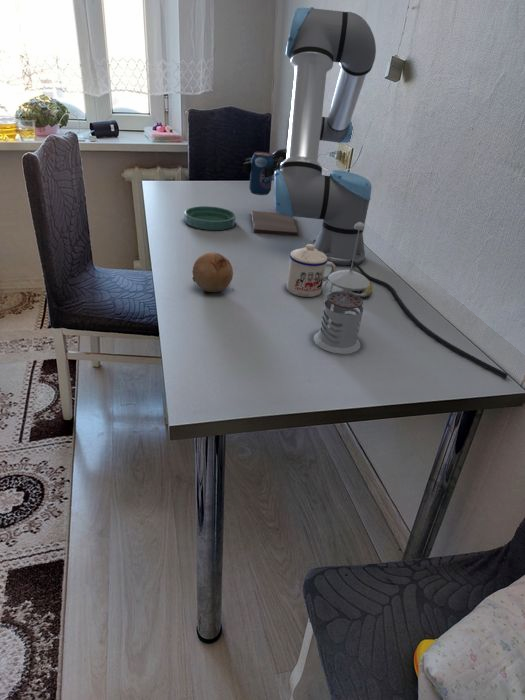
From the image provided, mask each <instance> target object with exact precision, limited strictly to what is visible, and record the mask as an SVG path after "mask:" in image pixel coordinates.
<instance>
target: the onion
mask: <svg viewBox="0 0 525 700" xmlns="http://www.w3.org/2000/svg"><path fill="white" fill-rule="evenodd" d="M191 273H192V280H193V283H196V285H197V286H198V287H199V288H200V289H201V290H202V291H203V292H208V293H219V292H222V291H224V290H225V289H227V288H228V287H229V285H231V282H232V280H233V277H234V270H233V267H232V263H231V262H230V259H228V258H227V257H225V256H224V255H222V254H221V253H218V252H205V253H203V254H201V255H199V257H198V258H197V259H196V260H195V262H194V264H193V266H192V270H191Z"/></svg>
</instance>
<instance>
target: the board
mask: <svg viewBox="0 0 525 700" xmlns="http://www.w3.org/2000/svg"><path fill="white" fill-rule="evenodd" d="M250 212H251V213H250V215H251V223H252V229H253V233H254V234H265V235H277V236H278V235H279V236H293V237H298V234H299V231H298V229H297V226H296V223H295V221H294V217H290V216H285V215H280V214H278V213H277V212H271V211H257V210H251V211H250Z"/></svg>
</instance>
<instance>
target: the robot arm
mask: <svg viewBox="0 0 525 700" xmlns="http://www.w3.org/2000/svg"><path fill="white" fill-rule="evenodd" d="M290 23H291V24H290V27H289V28H290V29H289V32H288V39H287V44H286V47H285V48H286V49H285V56H286V58H289V59H290V61H289V64H290V66H291V68H293V70H294V76H293V87H292V97H291V109H290V115H289V122H288V132H287V140H286V147H283V148H280V149H277V150H275V151H274V152H273V153H272V157H273V160H274V163H273V166H270V167H267V168H265V177H266V178H267V177H270V176H272V177H273V200H274V202H273V203H274V210H275V213H278V214H280V215H285V216H290V217H292V218H294V217H296V218H306V219H313V220H314V219H315V220H322V226H321V229H320V231H319V233H318V235H317V237H316V239H313V241H312V244H313V245H314V246H315V249H317V250H318V251H320V252H322V253H324V254H325V255H326V256H327V259H328V262H332V263H333V264H334V265H335V266H343V267H344V266H346V267H351V265H352V259H353V254H354V249H355V244H356V239H357V234H358V230H356V229H354V225H355V224H356V223H358V222H361V223H363V224H364V226H365V224H366V219H367V216H368V215H367V214H368V209H369V204H370V201H371V195H372V187H373V186H372V183H371V181H370V180H369V179H367V178H366V177H364V176H362V175H360V174H357V173H354V172H350V171H347V170H341V169H333V170H331V172H330V173H329V175H324V174H323V166H322V165H321V164H320V163H319V161H318V158H319V150H320V141H322V142H329V143H330V142H331V143H337V144H341V143H342V144H349V143H350V142H351V141H350V139H351V135H352V130H353V126H352V122H351V120H352V117H353V114H354V111H355V109H356V106H357V102H358V99H359V97H360V95H361V91H362V88H363V85H364V81H365V79H366V76H367V75H368V74H369V73H370V72H371V71H372V69H373V66H374V63H375V60H376V55H377V53H376V52H377V45H376V40H375V39H376V38H375V36H374V33H373V31H372V29H371V27H370V24H368V22H367V20H366V19H365V18H363V16H361V15H359V14H358V13H356V12H352V11H343V10H342V11H341V10H333V9H323V8H314V7H313V6H311V7H303V6H302V7H298V8H297V9H295V10H294V13H293V15H292V20H291V22H290ZM334 63H339V66H340V71H339V74H338V78H337V82H336V85H335V90H334V94H333V97H332V102H331V105H330V110H329V113H328V117H327V116H323V111H324V101H325V91H326V82H327V73H328V72H330V71H331V70H332V69H333V67H334ZM353 131H354V130H353ZM352 136H353V135H352ZM351 140H352V139H351ZM348 142H349V143H348ZM251 160H252V157H248V158H245V162H243V163H242V171H241V173H242V174H246V173H249V172H251ZM365 256H366V251H365V241H364V230H360V231H359V236H358V241H357V246H356V251H355V256H354V261H353V266H354V267H355V268H357V270H358V271H359V273H360V274H361V275H363V276H365V277H366V278H367V279H368V280H369V281H373V282H374V283H378V284H380V285H383V286H384V287H386V288H388V290H389V291H391V293H392V296H393V297H394V298H395V300H396V301H397V302H398V304H399V305H400V307H401V308H402V309H403V311H404V312H405V313H406V314H407V315H408V316H409V318H410V319H411V320H412V321H413V322H414V323H415V324H416V325H417V326H418V327H420V329H422V330H423V331H424V332H426V333H427V334H428V335H430V337H432V338H434V339H435V340H436V341H438V342H439V343H441V344H443V345H444V346H445V347H448V348H450V350H452V351H454V352H456V353H458V354H460V355H461V356H463V357H465V358H467V359H469V360H471V361H473V362H474V363H477V364H478V365H481V366H482V367H484V368H486V369H488V370H489V371H492V372H494V373H496V374H498V375H499V376H502V377H503V378H507V377H508V375H509V374H508V373H506V372H505V371H503V370H501V369H499V368H497V367H495V366H493V365H491V364H489V363H487V362H485V361H483V360H481V359H479V358H477V357H476V356H474V355H472V354H470V353H468V352H467V351H464V350H462V349H461V348H459V347H457V346H455V345H454V344H452V343H450V342H449V341H447V340H445V339H444V338H442V337H441V336H439V335H438V334H436V333H435V332H433V331H432V330H431V329H429V328H428V327H427V326H425V325H424V324H423V323H422V322H420V321H419V320H418V318H417V317H416V316H415V315H413V313H412V312H411V311H410V310H409V308H407V306H406V305H405V304H404V302H403V300H402V299H401V297H399V295H398V294H397V291H396V289H394V287H393V286H391V285H390V284H389V283H388V282H385V281H383V280H381V279H378V278H376V277H373V276H371V275H369V274H367V272H365V271H364V269H363V268H362V267H361V266H360V264H362V263H363V262H364V260H365Z"/></svg>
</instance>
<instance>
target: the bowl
mask: <svg viewBox="0 0 525 700" xmlns="http://www.w3.org/2000/svg"><path fill="white" fill-rule="evenodd" d="M184 222H185V224H186V225H187V226H190V227H193V228H195V229H201V230H207V231H222V230H229V229H231V228H234V226H235V225H236V213H235V212H234V211H231V210H229V209H227V208H224V207H218V206H206V205H205V206H203V205H201V206H200V205H199V206H192V207H189V208H187V209H185V210H184Z"/></svg>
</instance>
